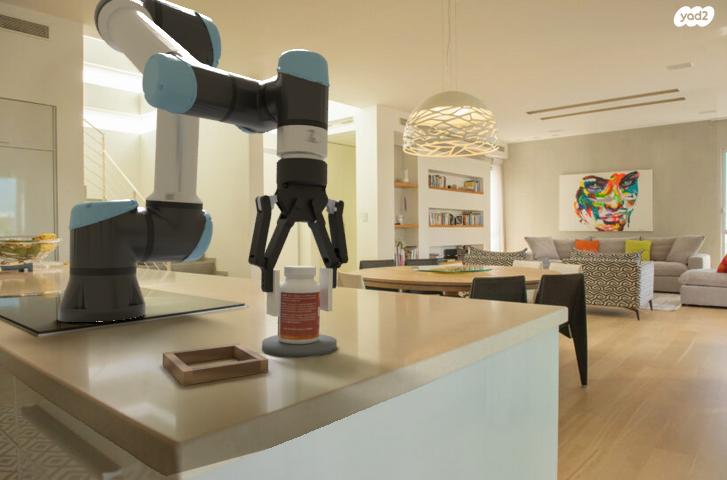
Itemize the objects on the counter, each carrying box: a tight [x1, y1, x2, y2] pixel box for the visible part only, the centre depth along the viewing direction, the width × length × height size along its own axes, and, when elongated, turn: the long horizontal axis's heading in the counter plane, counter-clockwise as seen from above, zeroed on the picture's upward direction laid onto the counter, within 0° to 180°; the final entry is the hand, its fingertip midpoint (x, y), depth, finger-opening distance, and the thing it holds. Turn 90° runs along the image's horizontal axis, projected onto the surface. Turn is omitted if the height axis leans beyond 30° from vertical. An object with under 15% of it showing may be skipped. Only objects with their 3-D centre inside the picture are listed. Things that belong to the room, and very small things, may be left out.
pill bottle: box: [277, 265, 321, 344], centre depth 69 cm, size 6×6×11 cm
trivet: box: [261, 333, 338, 358], centre depth 69 cm, size 11×11×1 cm
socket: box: [162, 343, 269, 387], centre depth 58 cm, size 10×10×2 cm
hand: (300, 312), depth 69 cm, fingers open, 8 cm apart
